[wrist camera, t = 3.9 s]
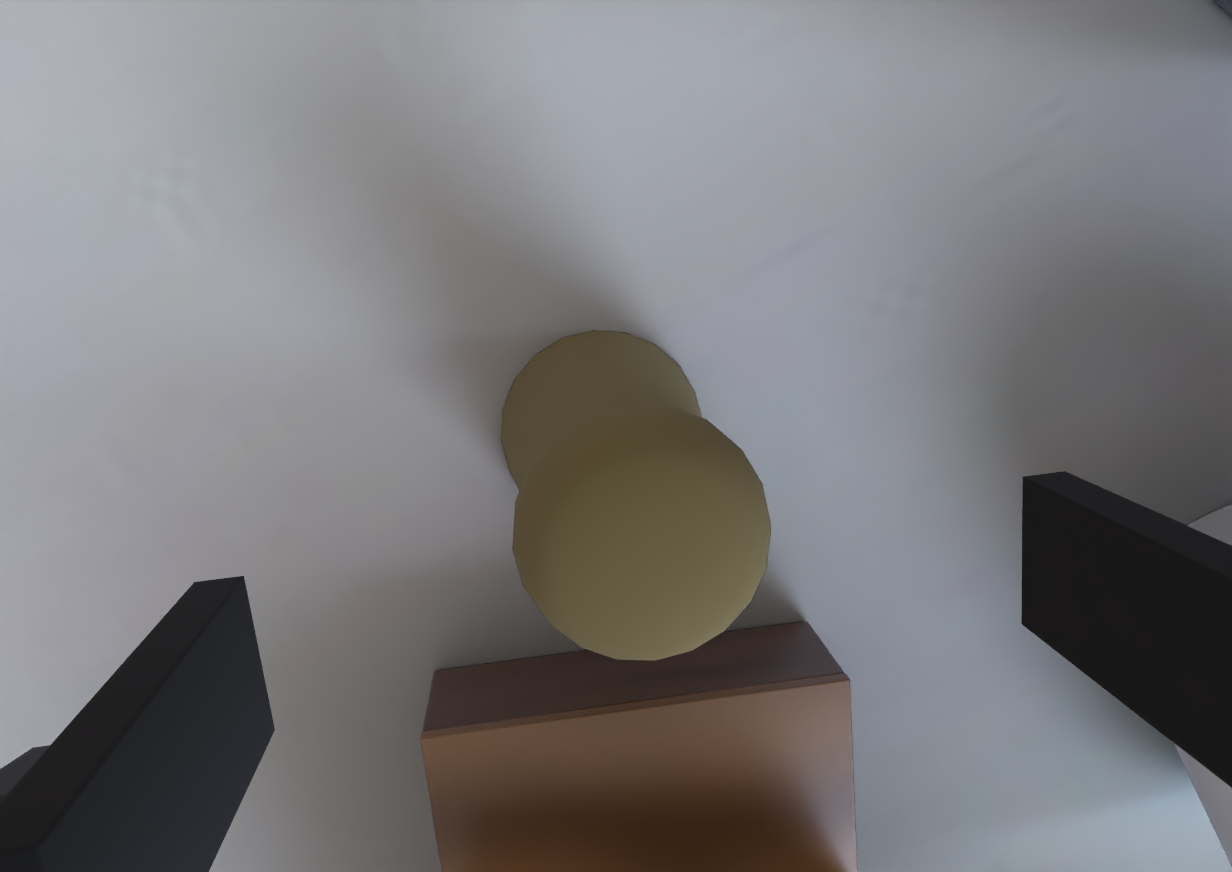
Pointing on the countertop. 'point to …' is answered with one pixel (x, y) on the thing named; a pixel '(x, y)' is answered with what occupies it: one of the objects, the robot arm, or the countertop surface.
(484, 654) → the countertop surface
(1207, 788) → the toilet paper
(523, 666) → the brown wooden stepped block
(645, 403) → the pale yellow rounded piece
